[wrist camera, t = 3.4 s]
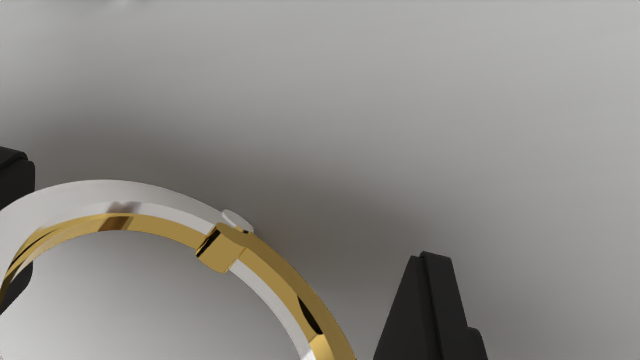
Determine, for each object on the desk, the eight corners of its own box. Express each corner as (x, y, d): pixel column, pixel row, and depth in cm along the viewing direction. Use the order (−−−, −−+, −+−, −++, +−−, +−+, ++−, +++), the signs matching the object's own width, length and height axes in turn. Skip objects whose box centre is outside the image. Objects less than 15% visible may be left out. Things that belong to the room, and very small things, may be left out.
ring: (65, 191, 13) (-330, 545, 6) (131, 81, 12) (-261, 351, 4) (311, 349, 14) (252, 798, 7) (394, 266, 13) (428, 704, 6)
